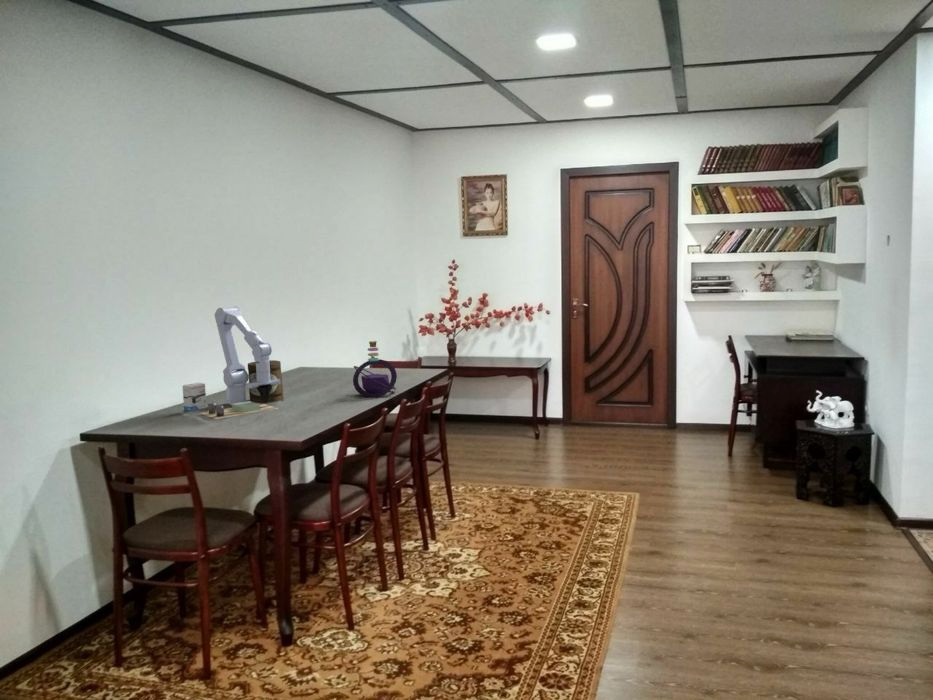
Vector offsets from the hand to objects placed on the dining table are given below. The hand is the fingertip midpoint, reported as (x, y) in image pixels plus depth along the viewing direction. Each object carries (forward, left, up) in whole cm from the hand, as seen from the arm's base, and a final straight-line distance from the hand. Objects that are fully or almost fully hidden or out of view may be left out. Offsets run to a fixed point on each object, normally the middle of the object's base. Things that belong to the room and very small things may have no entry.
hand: (265, 402), depth 332 cm
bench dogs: (0, -22, -3) cm, 22 cm away
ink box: (-20, -23, -3) cm, 31 cm away
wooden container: (-15, +8, -3) cm, 17 cm away
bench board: (0, -12, -3) cm, 12 cm away
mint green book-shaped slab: (0, -9, -2) cm, 9 cm away
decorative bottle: (+8, +52, -3) cm, 53 cm away
